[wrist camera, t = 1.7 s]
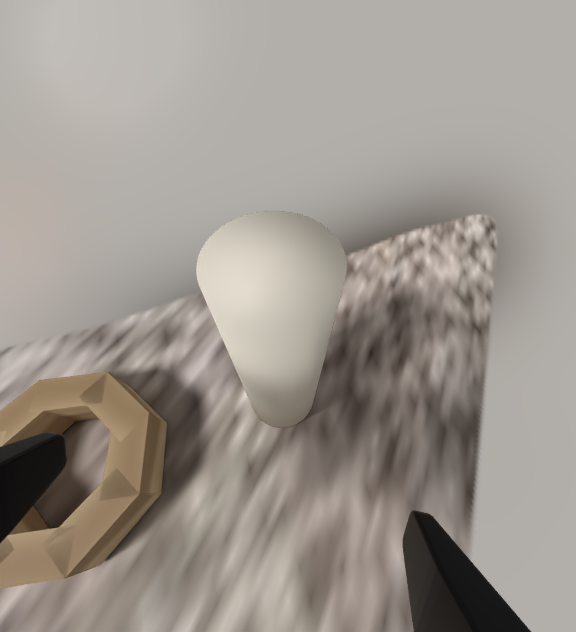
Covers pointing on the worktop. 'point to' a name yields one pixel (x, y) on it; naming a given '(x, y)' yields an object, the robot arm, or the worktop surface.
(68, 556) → the tan open ring
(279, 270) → the dowel
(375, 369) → the worktop surface
